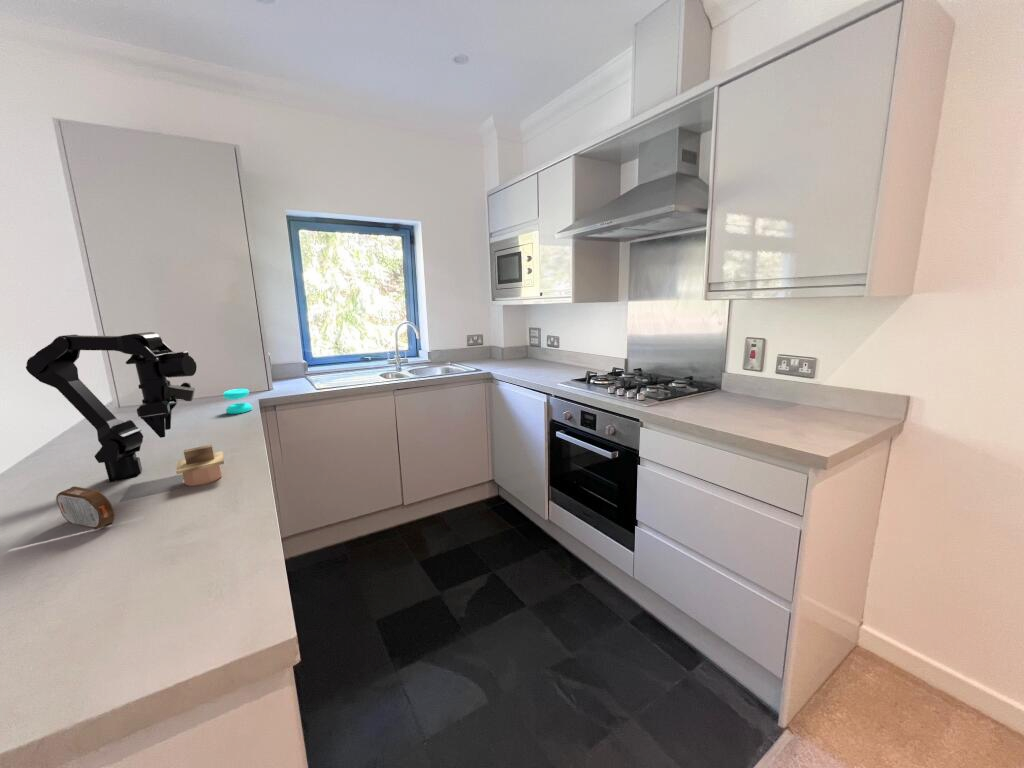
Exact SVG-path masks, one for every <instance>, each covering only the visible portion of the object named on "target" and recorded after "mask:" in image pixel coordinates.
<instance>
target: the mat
mask: <svg viewBox="0 0 1024 768" xmlns="http://www.w3.org/2000/svg"><path fill="white" fill-rule="evenodd" d="M183 482H184V478H183V473H181V474H176V475H173V476H167V477H163V478H159V479H153V480H149V481H144V482H140V483H134V484H131V485H129V487H128V488H127V490H126V491H125V492H124V494H123V495H122V497H120V499H119V501H118V502H119V503H122V502H125V501H130V500H131V501H132V500H135V499H139V498H144V497H148V496H153V495H159V494H161V493H167V492H171V491H175V490H179V489H181V487H182V485H183Z"/></svg>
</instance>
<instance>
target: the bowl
mask: <svg viewBox="0 0 1024 768" xmlns="http://www.w3.org/2000/svg"><path fill="white" fill-rule="evenodd" d="M221 465H222V464H221ZM221 465H216V466H212V467H207V468H203V469H199V470H194V471H190V472H185V473H182V474H183V478H184V480H183V482H184V485H187V486H191V487H195V486H203V485H206V484H210V483H213V482H215V481H217V480H219V479H220V478H222V475H223V470H222V466H221Z"/></svg>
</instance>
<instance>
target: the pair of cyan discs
mask: <svg viewBox="0 0 1024 768" xmlns="http://www.w3.org/2000/svg"><path fill="white" fill-rule="evenodd" d="M249 394H250V390H249V389H247V388H236V389H229V390H226V391H224V392H223V394H222V397H223V398H224V399H226V400H231V401H232V400H240V399H244V398H246V397H247V396H249ZM252 409H253V406H252V404H251V403H248V402H238V403H233V404H231V405H229V406H227V407H226V409H225V412H226V413H227V414H228V415H237V414H238V415H239V414H243V413H247V412H250V411H252Z"/></svg>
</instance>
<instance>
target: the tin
mask: <svg viewBox="0 0 1024 768" xmlns="http://www.w3.org/2000/svg"><path fill="white" fill-rule="evenodd" d="M55 498H56V499H55V500H56V502H57V505H58V508H59V511H60V513H61V515H62V517H63V518H64V519H65V520H66V521H67V522H69V523H70V524H72V523H73V525H77V526H82V527H88V528H92V529H94V528H95V529H94V530H98V528H99V529H101V528H103V527H105V526H107V525H109V524H112V523H113V522H114V521H115V516H116V515H115V510H114V507H113V506H112V503H111V502H110V500H109V499H108V498H107V496H106V495H105V494H103V493H102V491H101V492H100V490H97V489H93V488H85V487H80V486H79V487H78V486H71V487H69V488H67V489H64V490H62V491H60V492H59V493H57V495H56V496H55Z"/></svg>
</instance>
